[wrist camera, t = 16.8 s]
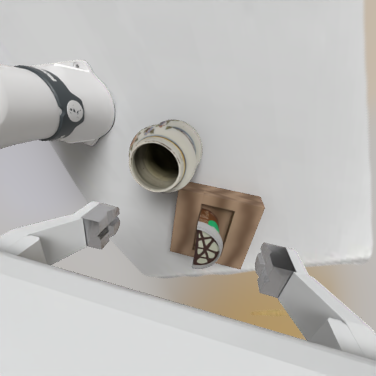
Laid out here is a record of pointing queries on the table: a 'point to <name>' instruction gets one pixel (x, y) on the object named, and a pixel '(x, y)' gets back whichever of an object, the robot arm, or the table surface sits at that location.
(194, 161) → the apothecary jar
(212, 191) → the walnut base
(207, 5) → the table surface
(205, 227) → the food container
